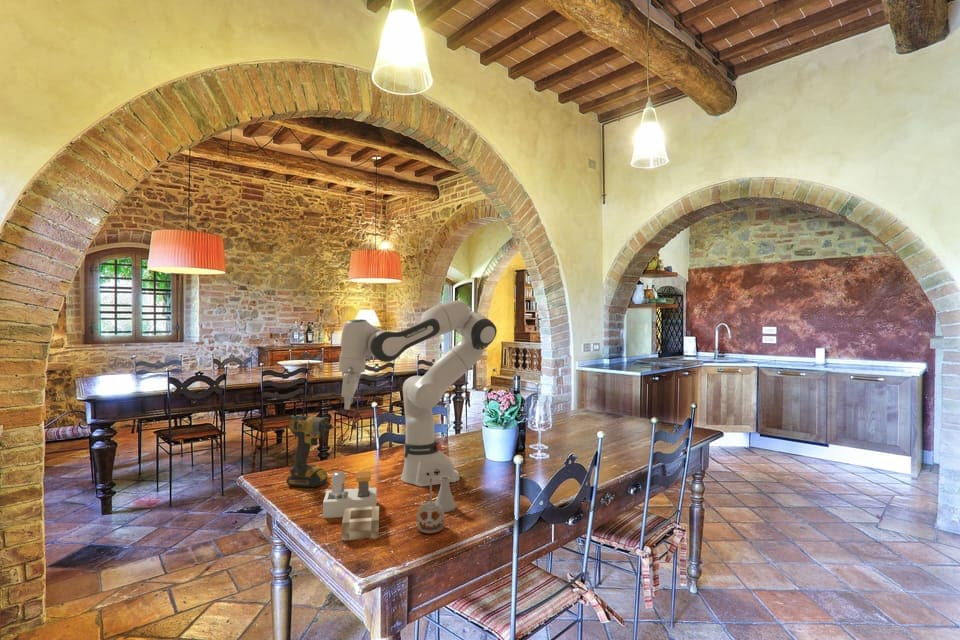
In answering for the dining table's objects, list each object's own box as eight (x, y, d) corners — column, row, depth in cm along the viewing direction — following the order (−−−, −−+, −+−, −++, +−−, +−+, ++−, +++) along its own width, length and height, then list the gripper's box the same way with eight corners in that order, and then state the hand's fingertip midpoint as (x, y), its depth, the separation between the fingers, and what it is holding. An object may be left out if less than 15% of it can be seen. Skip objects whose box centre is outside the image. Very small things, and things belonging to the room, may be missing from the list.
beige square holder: (378, 522, 143) (379, 506, 143) (378, 537, 133) (378, 520, 133) (344, 525, 141) (344, 508, 141) (341, 540, 131) (341, 522, 131)
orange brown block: (370, 492, 156) (371, 471, 156) (370, 499, 150) (370, 477, 150) (357, 493, 155) (357, 471, 155) (356, 500, 149) (356, 478, 149)
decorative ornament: (415, 535, 135) (416, 482, 135) (419, 523, 143) (419, 473, 143) (442, 535, 135) (443, 483, 135) (444, 523, 143) (445, 474, 143)
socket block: (376, 502, 158) (376, 487, 158) (375, 514, 148) (376, 498, 148) (326, 505, 155) (326, 490, 155) (322, 518, 145) (323, 502, 145)
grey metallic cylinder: (344, 507, 153) (345, 471, 153) (343, 513, 149) (344, 475, 149) (332, 508, 153) (332, 471, 152) (330, 513, 149) (331, 476, 149)
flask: (447, 514, 149) (447, 483, 149) (429, 509, 153) (429, 479, 153) (460, 507, 155) (460, 476, 155) (442, 502, 159) (442, 472, 159)
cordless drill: (332, 491, 168) (333, 421, 168) (282, 486, 172) (282, 418, 172) (344, 482, 177) (345, 416, 177) (296, 478, 181) (297, 413, 181)
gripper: (359, 370, 152) (355, 413, 152) (363, 363, 172) (359, 401, 172) (339, 368, 151) (335, 412, 151) (345, 362, 171) (342, 400, 171)
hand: (348, 406), depth 161 cm, fingers open, 8 cm apart
